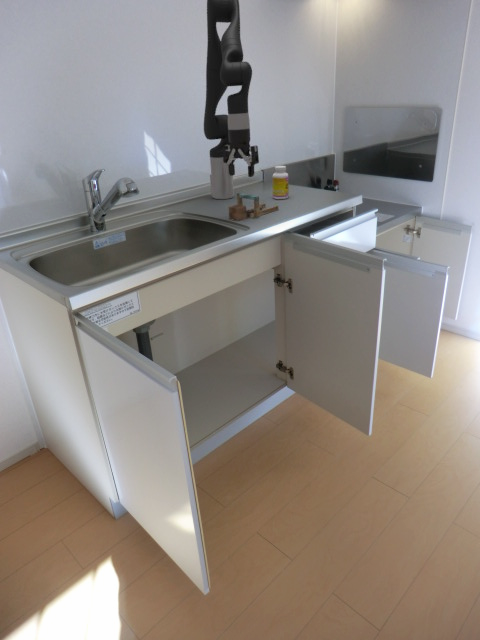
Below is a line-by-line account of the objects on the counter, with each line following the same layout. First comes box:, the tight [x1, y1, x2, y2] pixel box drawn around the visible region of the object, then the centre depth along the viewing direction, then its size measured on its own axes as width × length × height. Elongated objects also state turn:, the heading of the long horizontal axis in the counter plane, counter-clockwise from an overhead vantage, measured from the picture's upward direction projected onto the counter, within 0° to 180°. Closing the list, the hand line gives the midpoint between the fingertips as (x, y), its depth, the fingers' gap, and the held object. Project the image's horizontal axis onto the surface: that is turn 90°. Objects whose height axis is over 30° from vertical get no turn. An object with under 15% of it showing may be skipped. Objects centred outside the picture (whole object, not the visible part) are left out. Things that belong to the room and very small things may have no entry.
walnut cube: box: [228, 204, 248, 222], centre depth 177 cm, size 5×5×5 cm
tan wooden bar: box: [246, 205, 263, 218], centre depth 182 cm, size 3×9×3 cm, turn 134°
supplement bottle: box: [272, 165, 290, 200], centre depth 201 cm, size 7×7×13 cm
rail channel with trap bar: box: [236, 192, 279, 219], centre depth 183 cm, size 10×14×8 cm
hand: (241, 176), depth 173 cm, fingers open, 8 cm apart
